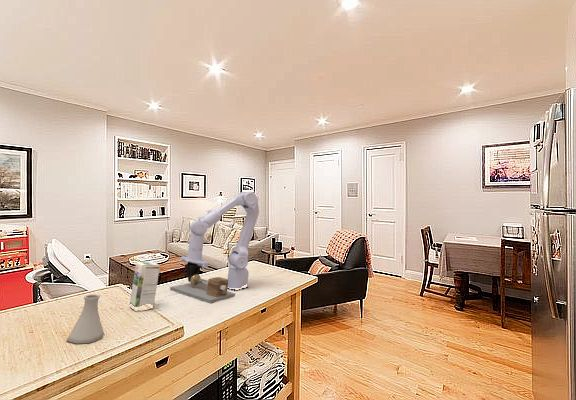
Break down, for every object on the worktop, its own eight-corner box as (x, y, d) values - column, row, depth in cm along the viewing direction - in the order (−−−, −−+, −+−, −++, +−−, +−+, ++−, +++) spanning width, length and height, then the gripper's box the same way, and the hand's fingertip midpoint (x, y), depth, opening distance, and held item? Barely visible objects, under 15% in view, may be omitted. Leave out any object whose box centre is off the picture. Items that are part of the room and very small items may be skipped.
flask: (79, 330, 72) (86, 290, 73) (109, 333, 73) (115, 293, 73) (59, 343, 65) (66, 298, 66) (92, 346, 65) (99, 301, 66)
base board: (196, 284, 127) (196, 282, 127) (234, 296, 116) (235, 293, 116) (170, 289, 115) (170, 286, 115) (209, 303, 104) (210, 300, 104)
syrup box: (128, 306, 92) (135, 261, 93) (147, 304, 96) (153, 261, 97) (134, 312, 88) (141, 265, 89) (154, 309, 92) (160, 264, 93)
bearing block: (217, 291, 116) (219, 276, 116) (226, 294, 113) (228, 279, 114) (206, 294, 111) (208, 278, 111) (216, 297, 108) (218, 281, 109)
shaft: (197, 283, 120) (199, 273, 121) (227, 292, 112) (229, 281, 113) (189, 285, 117) (190, 274, 117) (219, 294, 108) (221, 283, 109)
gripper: (176, 246, 120) (171, 279, 120) (200, 252, 113) (196, 286, 112) (189, 246, 127) (185, 277, 126) (213, 251, 119) (209, 284, 118)
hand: (191, 281), depth 119 cm, fingers closed
